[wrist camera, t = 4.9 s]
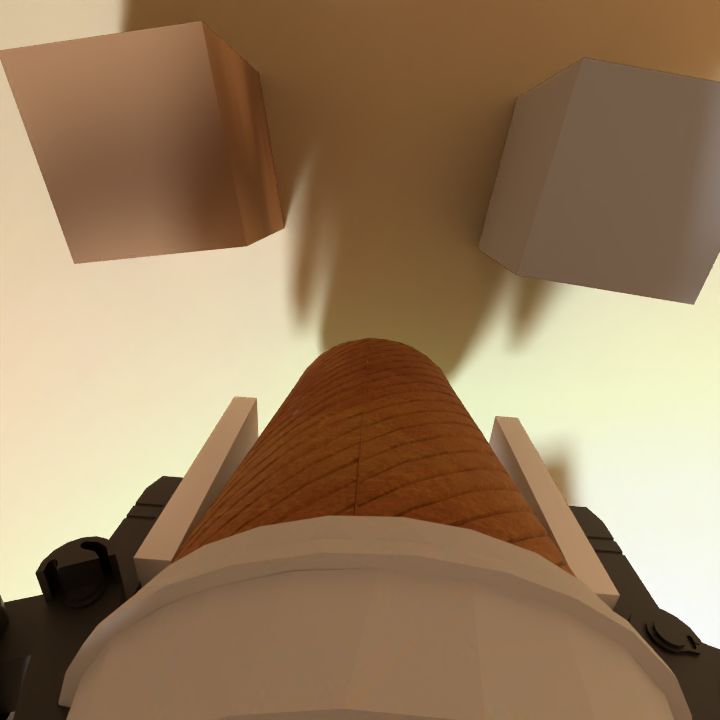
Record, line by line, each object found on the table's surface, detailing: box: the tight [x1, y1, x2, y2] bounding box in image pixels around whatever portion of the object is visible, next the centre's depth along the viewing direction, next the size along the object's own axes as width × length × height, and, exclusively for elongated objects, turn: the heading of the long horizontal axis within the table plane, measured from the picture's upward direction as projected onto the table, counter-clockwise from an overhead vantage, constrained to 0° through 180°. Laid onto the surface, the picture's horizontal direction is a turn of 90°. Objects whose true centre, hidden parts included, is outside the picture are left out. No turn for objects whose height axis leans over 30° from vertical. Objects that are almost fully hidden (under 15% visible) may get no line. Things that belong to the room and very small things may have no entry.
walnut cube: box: [0, 21, 284, 264], centre depth 13 cm, size 5×5×5 cm
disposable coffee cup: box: [58, 338, 692, 720], centre depth 11 cm, size 10×10×12 cm
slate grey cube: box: [478, 58, 720, 305], centre depth 13 cm, size 5×5×5 cm
